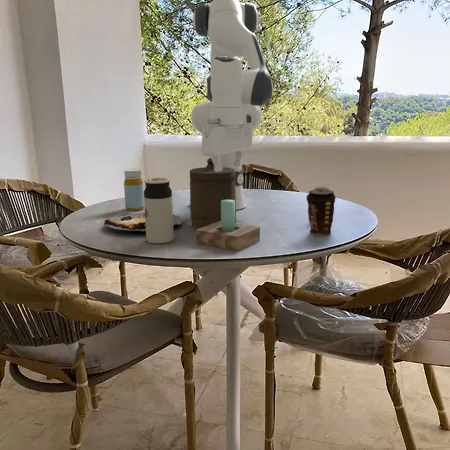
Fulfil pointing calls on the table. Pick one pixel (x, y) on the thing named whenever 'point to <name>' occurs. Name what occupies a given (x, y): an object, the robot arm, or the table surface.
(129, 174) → the bottle
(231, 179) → the wooden container
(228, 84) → the robot arm
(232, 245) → the socket block
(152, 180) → the travel mug
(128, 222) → the food plate
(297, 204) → the table surface
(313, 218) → the coffee cup
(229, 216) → the peg
